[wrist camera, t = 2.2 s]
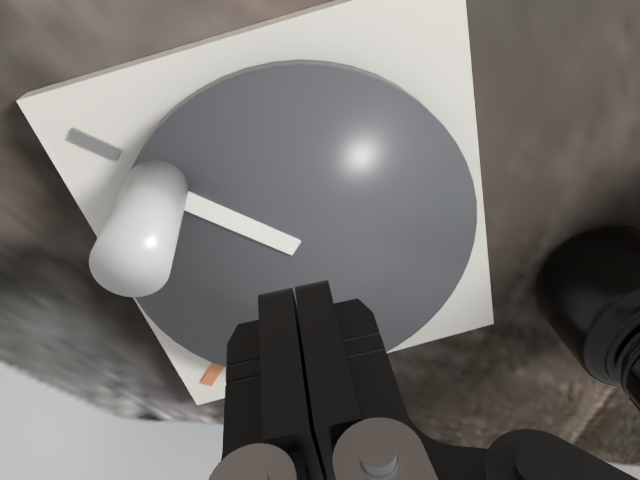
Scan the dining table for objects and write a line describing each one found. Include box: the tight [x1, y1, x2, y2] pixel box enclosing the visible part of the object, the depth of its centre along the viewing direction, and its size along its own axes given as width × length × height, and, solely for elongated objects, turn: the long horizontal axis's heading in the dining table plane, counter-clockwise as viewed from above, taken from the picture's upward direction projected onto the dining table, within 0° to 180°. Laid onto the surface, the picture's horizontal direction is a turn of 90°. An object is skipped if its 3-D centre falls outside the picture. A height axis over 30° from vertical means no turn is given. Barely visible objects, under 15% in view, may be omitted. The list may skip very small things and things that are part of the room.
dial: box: [89, 59, 477, 368], centre depth 26 cm, size 20×20×9 cm
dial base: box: [16, 0, 494, 405], centre depth 30 cm, size 22×23×2 cm
